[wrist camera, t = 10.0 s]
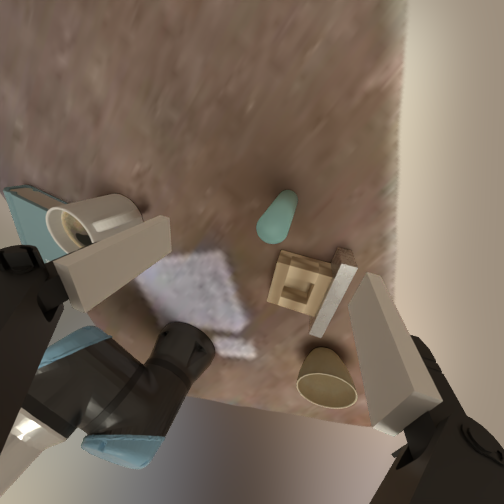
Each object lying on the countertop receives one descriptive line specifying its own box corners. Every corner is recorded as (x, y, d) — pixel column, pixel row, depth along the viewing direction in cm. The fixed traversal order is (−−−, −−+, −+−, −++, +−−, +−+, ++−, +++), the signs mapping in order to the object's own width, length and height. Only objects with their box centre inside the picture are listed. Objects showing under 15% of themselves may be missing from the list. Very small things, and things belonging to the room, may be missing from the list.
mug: (106, 226, 41) (51, 247, 33) (103, 182, 36) (37, 192, 28) (151, 248, 40) (107, 275, 32) (154, 206, 35) (103, 224, 27)
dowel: (275, 208, 29) (254, 239, 19) (279, 187, 28) (259, 209, 18) (294, 212, 29) (283, 247, 19) (300, 192, 28) (292, 217, 17)
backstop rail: (309, 312, 36) (308, 334, 32) (337, 246, 30) (341, 263, 25) (320, 315, 36) (321, 338, 32) (351, 250, 29) (357, 267, 25)
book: (102, 289, 53) (83, 302, 49) (52, 264, 54) (29, 274, 50) (94, 214, 41) (69, 222, 37) (30, 184, 42) (-2, 188, 38)
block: (271, 287, 36) (266, 301, 33) (281, 249, 32) (277, 261, 29) (314, 300, 35) (314, 316, 32) (330, 263, 31) (332, 277, 28)
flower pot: (289, 347, 42) (284, 381, 36) (329, 331, 37) (332, 367, 31) (319, 376, 44) (320, 413, 38) (361, 364, 39) (370, 404, 33)
